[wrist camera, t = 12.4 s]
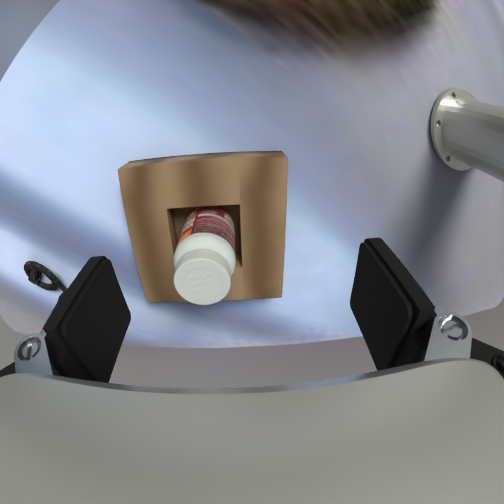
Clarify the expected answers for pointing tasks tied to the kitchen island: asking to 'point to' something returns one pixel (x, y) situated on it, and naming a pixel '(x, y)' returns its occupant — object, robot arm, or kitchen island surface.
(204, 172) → the socket block
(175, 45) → the kitchen island surface
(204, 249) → the pill bottle
